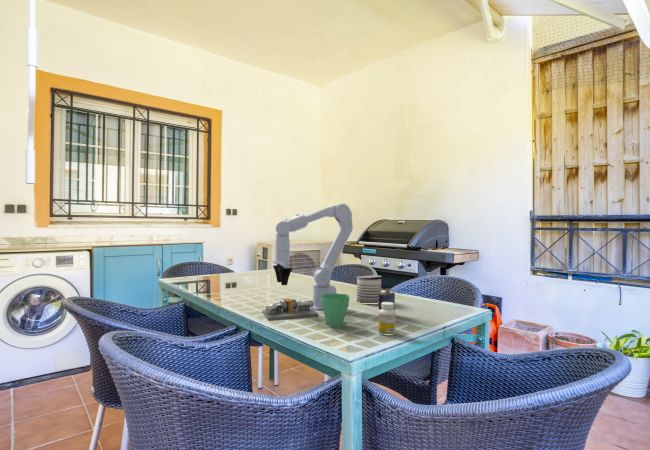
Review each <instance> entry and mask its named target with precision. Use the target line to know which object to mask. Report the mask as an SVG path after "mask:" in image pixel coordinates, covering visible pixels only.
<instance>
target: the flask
mask: <svg viewBox="0 0 650 450" xmlns="http://www.w3.org/2000/svg"><path fill="white" fill-rule="evenodd" d="M395 294H396V292H395V291H391V288H386V289H385V291H384V292H381V293H380V294H379V304H378V311H379V310H380V309H382V307H381V303H382V302H392V303H394V308H393V310H395V309H396V308H395V307H396V305H395V302H396V301H395V300H396V299H395V298H396V297H395V296H396V295H395ZM395 311H396V310H395Z"/></svg>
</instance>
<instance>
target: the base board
mask: <svg viewBox="0 0 650 450" xmlns="http://www.w3.org/2000/svg"><path fill="white" fill-rule="evenodd" d="M261 312H262V314H263V315H264V316H265V318H266V319H267V320H268V321H274V320H275V321H276V320H286V319H287V320H288V319H289V320H291V319H301V318H316V317H319V316H320V315H319V312H317V310H315V309H314V308H312V307H310V310H309V311H305V310H304V311H298V310H297V308H296V309H295V310H294V312H286V311H281V313H277V314H275V315H272V314H267V313H266V309H262V311H261Z"/></svg>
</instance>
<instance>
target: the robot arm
mask: <svg viewBox="0 0 650 450" xmlns="http://www.w3.org/2000/svg"><path fill="white" fill-rule="evenodd" d="M352 216H353V213H352V211H351V209H350V206H349V205H347V204H345V203H340V204H337V205H331V206H327V207H324V208H322V209H319V210H317V211H315V212H311V213H310V214H307V215H304V214H303V213H302V214H299V213H297V214H295V216H292V217H290V218H285V219H284V220H285V221H284V220H281V221H280V222H278V223H277V224H276V226H275V232H276V235H275V238H276V239H275V260H273V261H272V264H275V265H272V267H273V269H274V273H275V276H276V282H277V283H281V284H280V285H281V286H288V283H289V279H290V276H291V273H292V271H293V268H292V267H290V264H291V261H290V247H291V246H290V245H291V242H290V241H291V240H290V232H291V233H294V232H297V231H300V230H303V229H305V228H307V227H308V225H309V223H312V222H314V221H317V220H320V219H323V218H326V217H328V218H334V219H335V220H336V222H337V224H338V227H339V230H338V232H337V234H336V236H335V238H334V240H333V242H332V244H331V246H330V248H329V250H328V252H327V254H326V256H325V258H324V260H323V261H322V263H321V264H320V266H319V268H317V269H316V270H315V271H314V272H313V279H314V281H315V282H314V283H313V285H312V286H313V287H312V301H313V307H312V309H313V310H314V311H317V310H318V311H319V310H323V308H322V303H321V295H324V294H338V293H337V289H336V286H335V285H331V284H330V282H331V280H332V278H331V277H332V274H333V272H334V267H335V265H336V263H337V261H338V259H339V257H340V255H341V253H342V251H343V249H344V247H345V245H346V244H347V242H348V239H349V238H350V235H351V233H352V232H353V229H354V227H353V217H352Z"/></svg>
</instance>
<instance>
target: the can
mask: <svg viewBox="0 0 650 450" xmlns="http://www.w3.org/2000/svg"><path fill="white" fill-rule="evenodd" d="M381 277H382V275H359V276H356V277H355V278H356V303H357V302H360V303H378V302H379V294H380V293H382V278H381ZM360 303H359V304H360Z"/></svg>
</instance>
